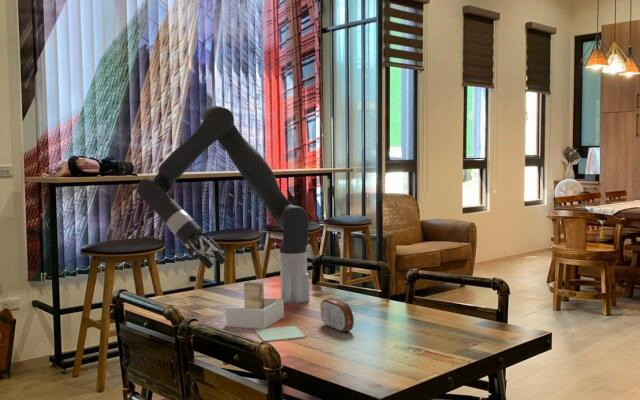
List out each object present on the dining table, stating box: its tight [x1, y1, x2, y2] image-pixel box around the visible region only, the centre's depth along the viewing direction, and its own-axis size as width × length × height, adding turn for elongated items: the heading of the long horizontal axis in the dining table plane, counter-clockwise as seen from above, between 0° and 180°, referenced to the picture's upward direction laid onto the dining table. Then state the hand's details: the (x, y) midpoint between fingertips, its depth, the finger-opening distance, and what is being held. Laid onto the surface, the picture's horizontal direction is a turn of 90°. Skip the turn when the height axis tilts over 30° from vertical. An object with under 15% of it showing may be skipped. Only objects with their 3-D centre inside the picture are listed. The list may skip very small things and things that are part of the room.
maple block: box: [243, 280, 265, 309], centre depth 205 cm, size 4×4×10 cm
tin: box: [320, 297, 355, 333], centre depth 195 cm, size 15×3×8 cm, turn 29°
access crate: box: [224, 297, 285, 329], centre depth 206 cm, size 13×15×6 cm
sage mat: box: [254, 325, 307, 343], centre depth 190 cm, size 12×12×1 cm
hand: (217, 264), depth 209 cm, fingers open, 8 cm apart
